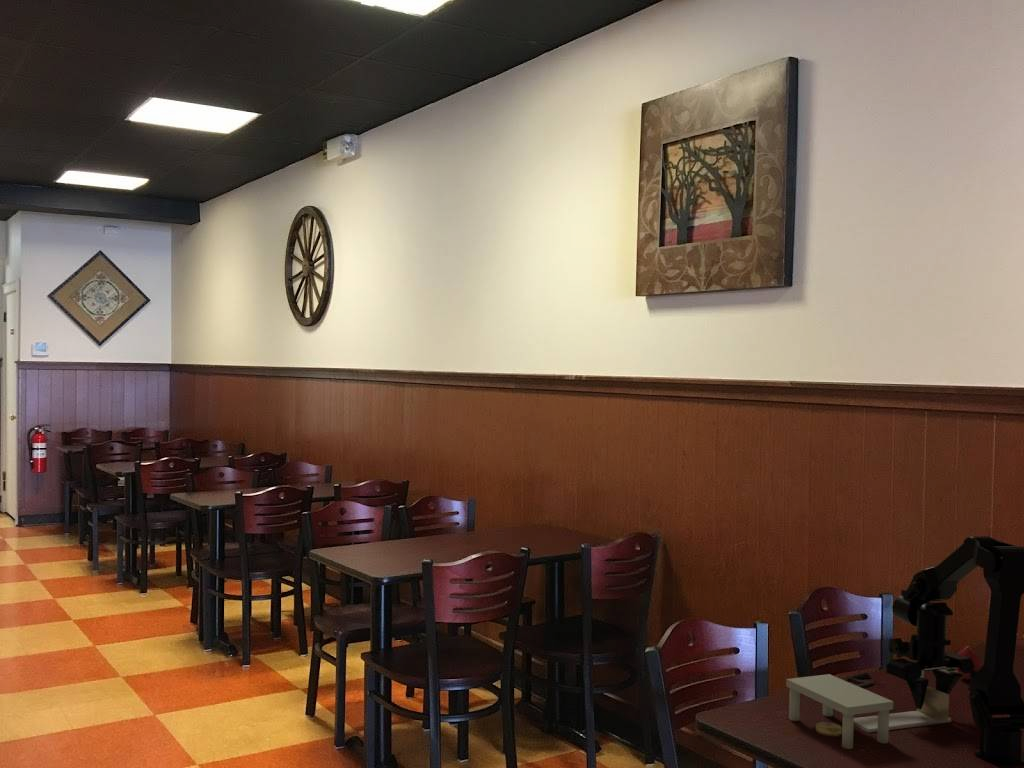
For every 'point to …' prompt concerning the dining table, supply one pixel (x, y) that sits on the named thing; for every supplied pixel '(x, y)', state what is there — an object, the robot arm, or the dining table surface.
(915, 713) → the scraper
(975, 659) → the onion
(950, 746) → the dining table surface
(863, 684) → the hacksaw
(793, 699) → the miniature white bench
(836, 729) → the token
